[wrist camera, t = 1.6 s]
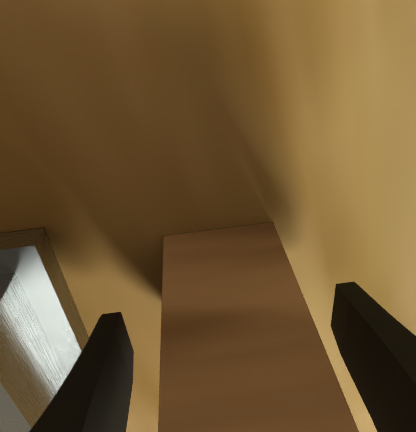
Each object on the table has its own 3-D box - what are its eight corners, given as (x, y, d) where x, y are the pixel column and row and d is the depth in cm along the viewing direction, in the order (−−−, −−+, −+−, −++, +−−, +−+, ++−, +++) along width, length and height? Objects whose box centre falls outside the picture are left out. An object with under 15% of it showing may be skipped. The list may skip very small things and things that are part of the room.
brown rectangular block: (273, 300, 16) (347, 539, 9) (178, 312, 16) (184, 562, 9) (272, 222, 14) (371, 462, 7) (163, 235, 14) (156, 491, 7)
